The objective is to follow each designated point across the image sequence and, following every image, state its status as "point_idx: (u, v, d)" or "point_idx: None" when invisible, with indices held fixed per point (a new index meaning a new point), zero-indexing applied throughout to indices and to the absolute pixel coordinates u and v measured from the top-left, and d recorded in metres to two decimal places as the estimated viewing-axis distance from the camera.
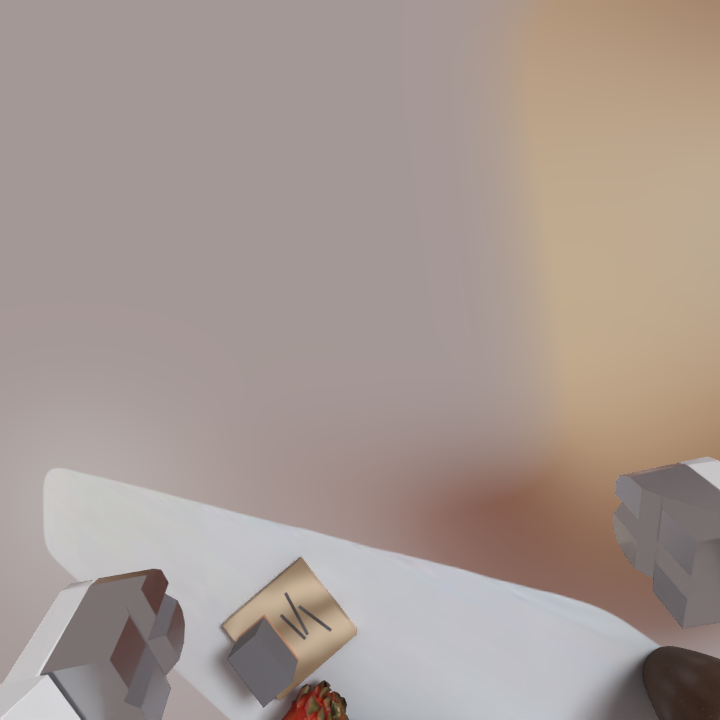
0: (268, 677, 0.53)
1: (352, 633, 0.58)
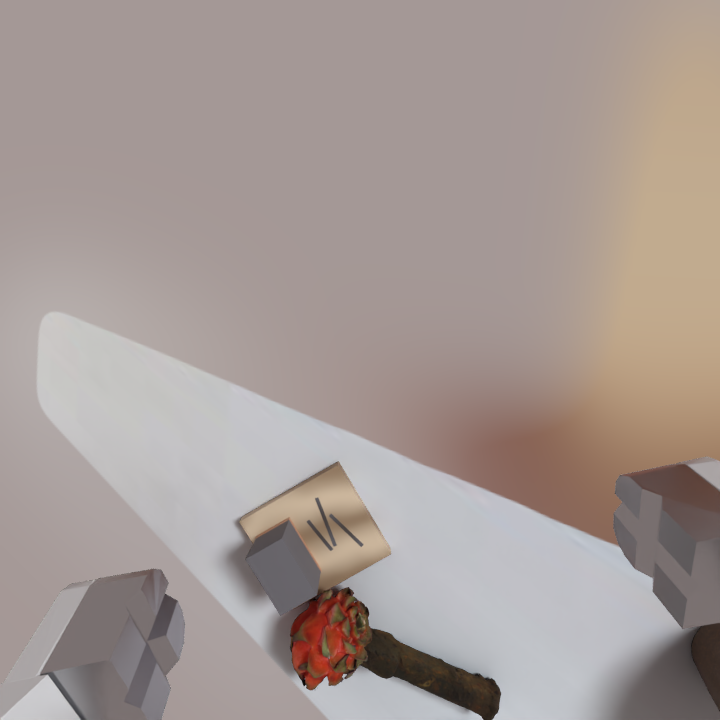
0: (290, 585, 0.46)
1: (386, 552, 0.51)
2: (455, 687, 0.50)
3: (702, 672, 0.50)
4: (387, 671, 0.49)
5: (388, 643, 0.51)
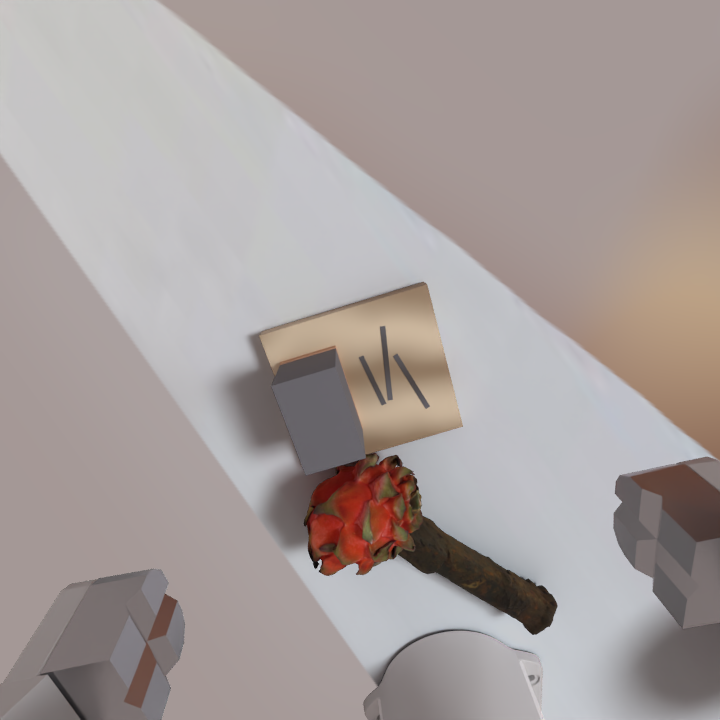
0: (330, 437, 0.30)
1: (456, 423, 0.36)
2: (507, 593, 0.39)
3: None
4: (431, 565, 0.37)
5: (432, 532, 0.38)
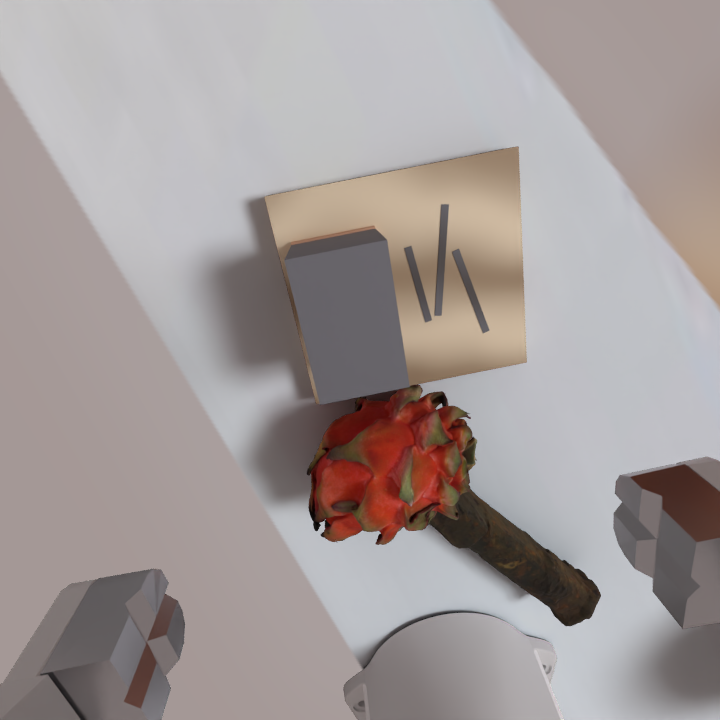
0: (364, 351, 0.20)
1: (519, 357, 0.27)
2: (548, 577, 0.31)
3: None
4: (466, 538, 0.28)
5: (468, 496, 0.30)
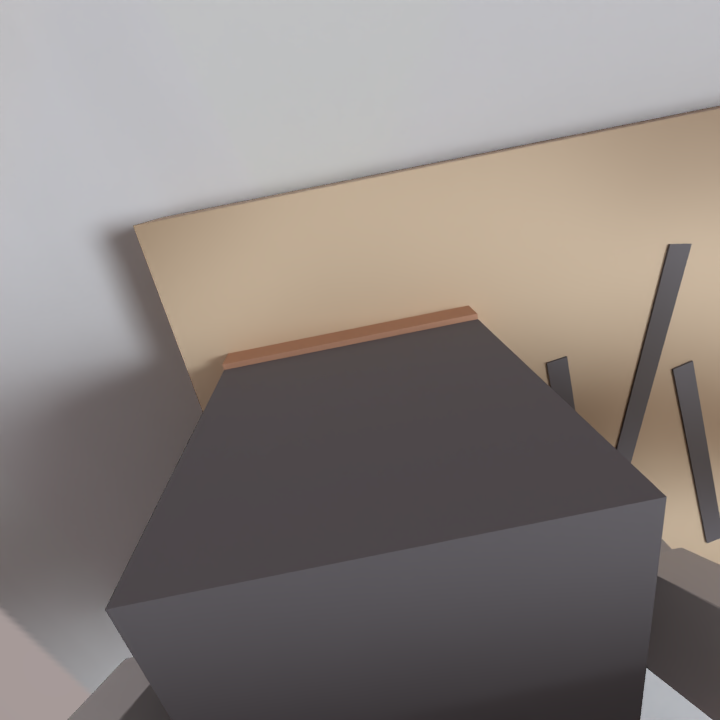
0: None
1: None
2: None
3: None
4: None
5: None
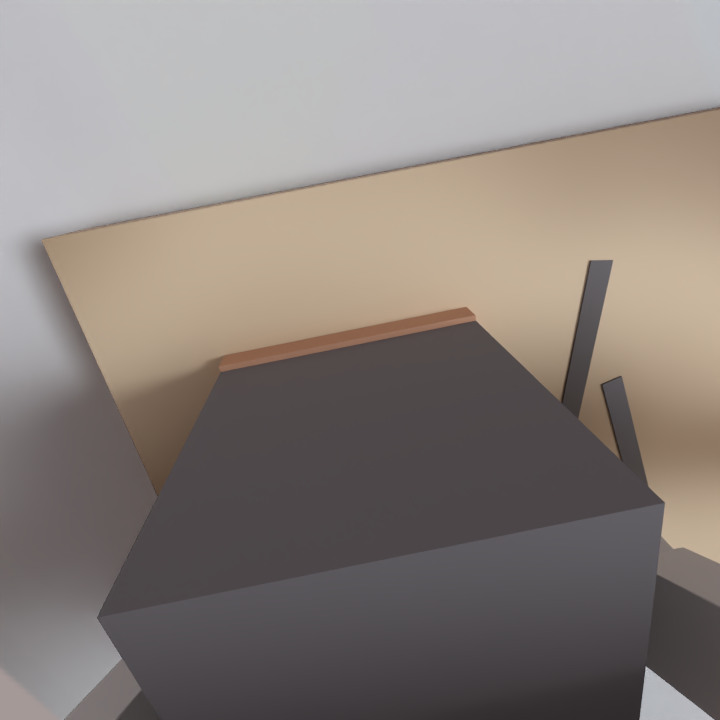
0: None
1: None
2: None
3: None
4: None
5: None
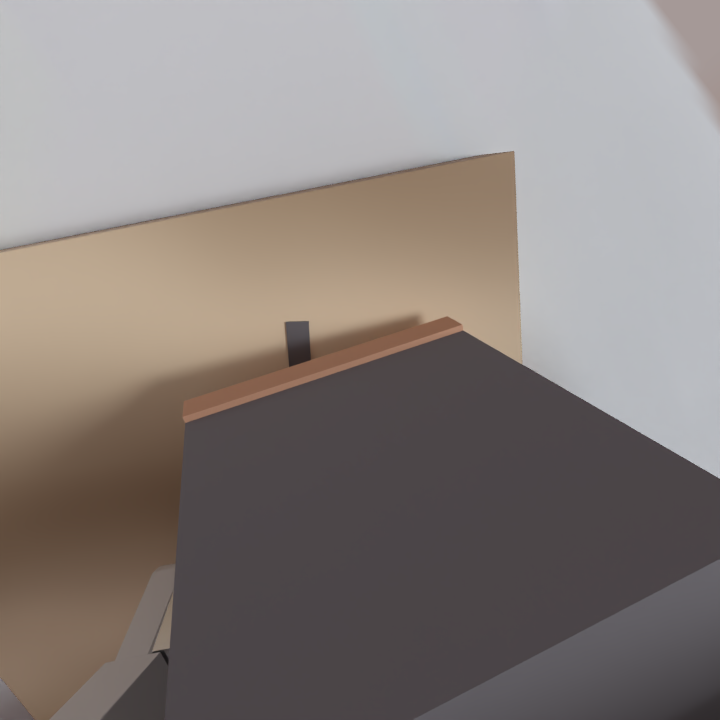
0: None
1: None
2: None
3: None
4: None
5: None
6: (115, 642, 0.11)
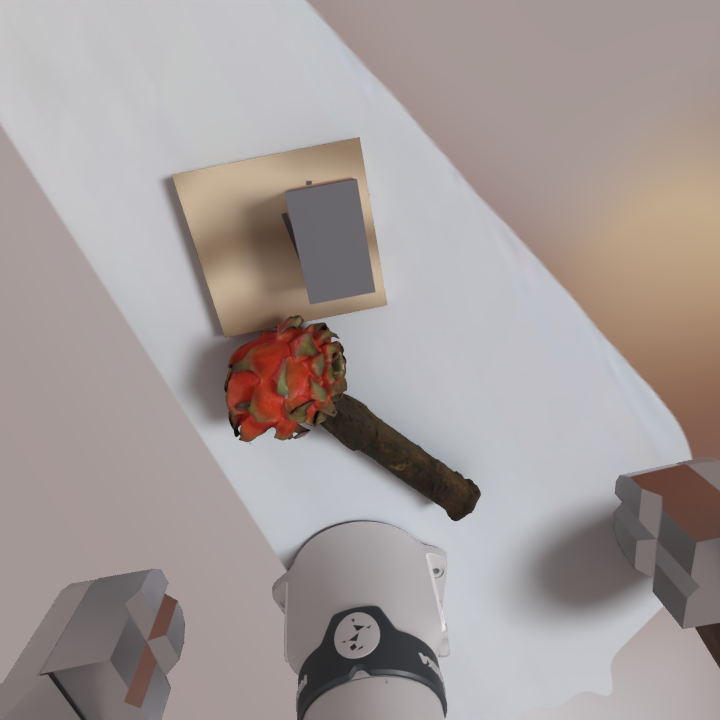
0: (341, 263, 0.28)
1: (381, 301, 0.35)
2: (432, 477, 0.39)
3: None
4: (357, 442, 0.36)
5: (363, 412, 0.38)
6: (251, 292, 0.34)
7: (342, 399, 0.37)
